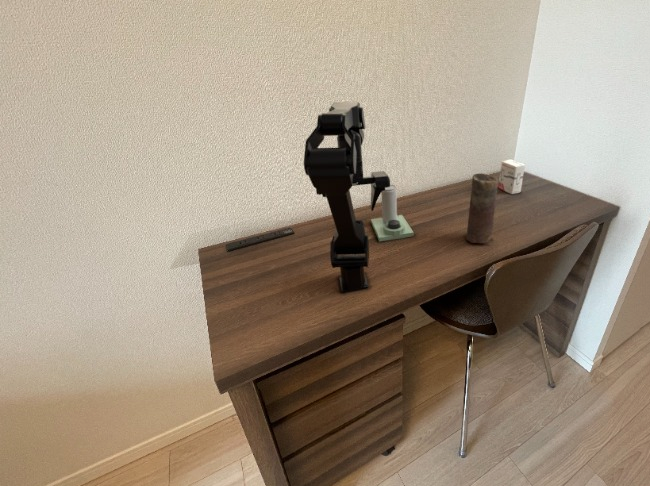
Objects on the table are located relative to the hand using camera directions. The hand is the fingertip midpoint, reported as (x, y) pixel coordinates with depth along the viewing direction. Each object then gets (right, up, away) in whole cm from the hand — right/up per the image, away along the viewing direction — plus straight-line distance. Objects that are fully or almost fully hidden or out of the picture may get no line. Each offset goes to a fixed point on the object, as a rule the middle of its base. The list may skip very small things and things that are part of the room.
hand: (355, 212), depth 86 cm
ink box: (+57, +10, +46) cm, 74 cm away
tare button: (+10, -4, +14) cm, 18 cm away
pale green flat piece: (+9, -5, +18) cm, 21 cm away
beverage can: (+9, -3, +20) cm, 22 cm away
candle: (+36, -8, +12) cm, 39 cm away
